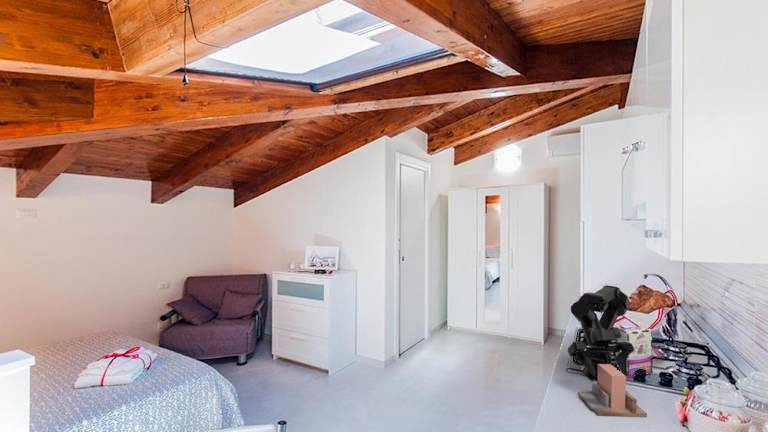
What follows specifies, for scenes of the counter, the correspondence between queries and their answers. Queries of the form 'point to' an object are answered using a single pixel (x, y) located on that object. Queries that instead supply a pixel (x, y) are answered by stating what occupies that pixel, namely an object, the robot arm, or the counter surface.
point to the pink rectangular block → (612, 385)
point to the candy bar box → (638, 349)
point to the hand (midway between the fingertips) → (610, 376)
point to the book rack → (601, 401)
